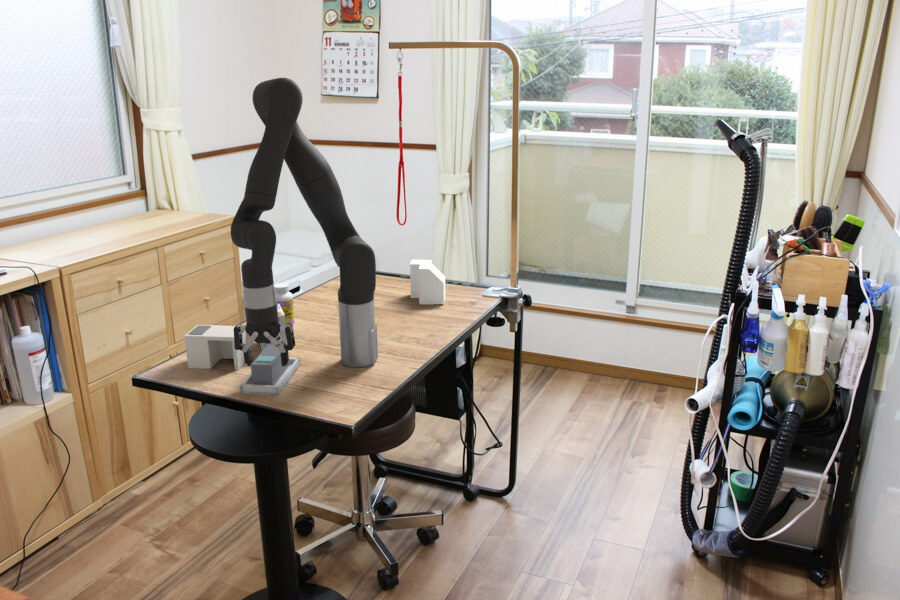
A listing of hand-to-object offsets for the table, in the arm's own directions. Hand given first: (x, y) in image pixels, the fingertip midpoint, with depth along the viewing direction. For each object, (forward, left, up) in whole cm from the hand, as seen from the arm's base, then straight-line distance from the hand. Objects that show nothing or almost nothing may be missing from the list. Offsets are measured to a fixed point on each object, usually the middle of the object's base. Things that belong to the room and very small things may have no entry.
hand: (267, 365), depth 181 cm
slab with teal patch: (+1, -4, -5) cm, 7 cm away
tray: (+1, -4, -6) cm, 7 cm away
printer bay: (+18, -13, -6) cm, 23 cm away
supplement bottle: (+9, -41, -6) cm, 43 cm away
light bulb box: (+7, -25, -6) cm, 27 cm away
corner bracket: (-31, -70, -6) cm, 77 cm away
